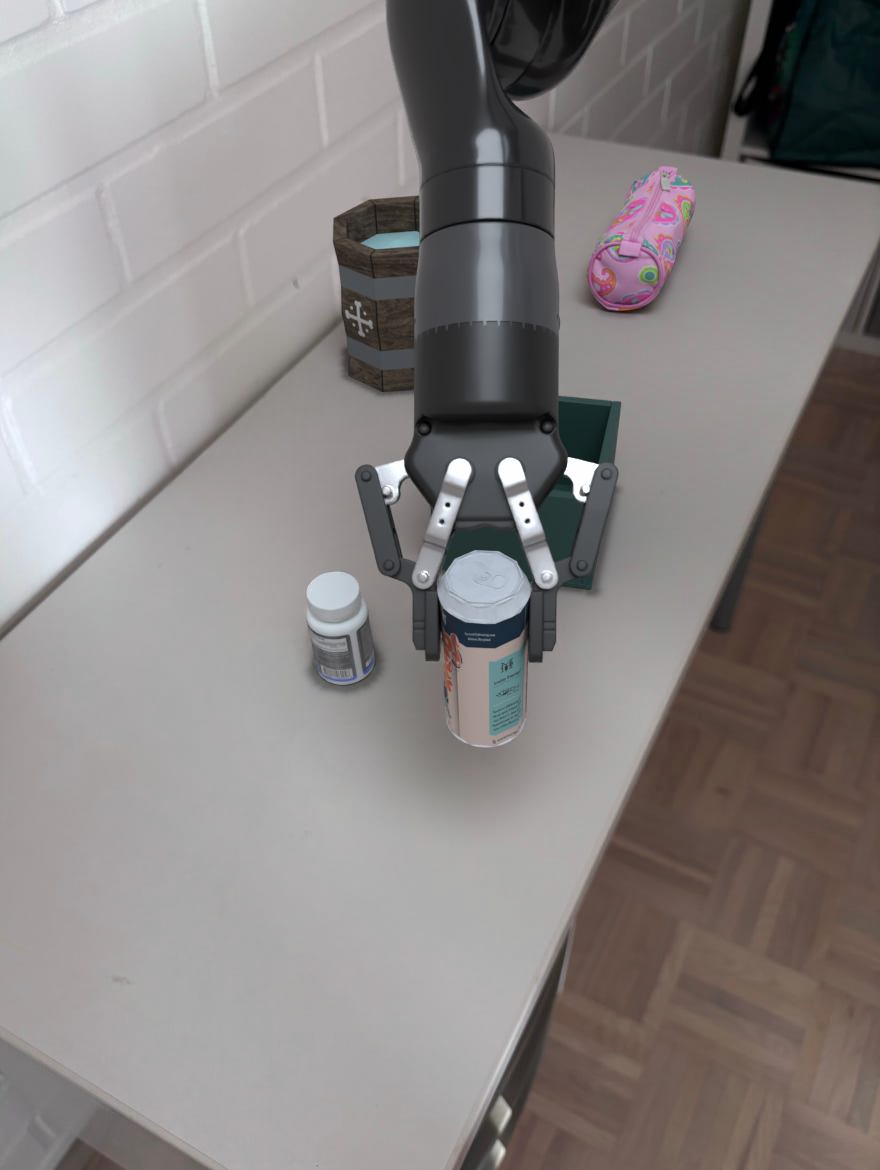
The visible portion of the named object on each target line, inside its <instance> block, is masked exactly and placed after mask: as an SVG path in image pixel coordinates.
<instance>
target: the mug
mask: <svg viewBox="0 0 880 1170" xmlns="http://www.w3.org/2000/svg"><path fill="white" fill-rule="evenodd" d="M419 196H420V195H419V194H418V195H407V196H394V197H393V196H392V197H383V198H369V199H367V200H365V201H363V202H361V203H359V204H358V205H355V206H354V207H352V208H350V209H348V210H346V211H344V212H341V213H339V214H338V215H336V216H335V217H333V219H332V222H333V223H332V244H333V248H334V252H335V256H336V262H337V265H338V266H337V267H338V274H339V282H340V302H341V304H340V306H341V316H342V320H343V327H344V331H345V335H346V336H345V337H346V343H347V352H348V376H349V377H350V378H353V379H355V380H357V381H359V382H361V383H363V384H365V385H367V386H370V387H372V388H373V389H375V390H377V391H380V392H382V393H388V392H400V391H401V392H403V391H414V293H415V282H416V274H417V268H418V259H419Z"/></svg>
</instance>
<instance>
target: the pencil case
mask: <svg viewBox="0 0 880 1170" xmlns="http://www.w3.org/2000/svg"><path fill="white" fill-rule="evenodd" d="M678 170H679V168H678V167H675V166H668V165H667V166H666V165H660V166H659V168H657V170H654V171H652V172H649V173H647V174H645V175H644V176H642V177H640V178H638V180H634V181H633V183H632V184H631V186H630V188H629V190H628V191H627V193H626V195H625V198H624V202H623V205H622V206H621V207H620V209H619V210H618V212H617V214H616V216H615V218H614V220H613V222H612V223H611V224H610V225H609V227H608V228H607V229H606V230H605V231H604V232H603V234H602V236H601V237H600V239H598V241H597V243H596V245H595V249H594V250H593V252H592V254H591V255H590V258H589V261H588V264H587V268H586V280H587V285H588V288H589V290H590V292H591V294H592V296H593V297H594V298H595V299H596V301H597V302H598V303H599V304H601V306H602V307H604V308H605V309H607V310H610V311H617V312H622V311H631V310H636V309H640V308H643V307H645V306H646V305H648V304H649V303H651V302H652V301H654V300H655V299H656V298H657V297H658V295H659V294H660V292H661V291H662V289H663V286H664V284H665V282H666V280H667V279H668V278H669V276H670V274H671V273H672V271H673V268H674V267H675V262H676V257H677V255H678V252H679V250H680V248H681V246H682V243H683V240H684V236H685V233H686V231H687V229H688V227H689V226H690V224H691V221H692V219H693V217H694V213H695V208H696V205H697V204H696V202H697V196H696V191H695V188H694V186H693V185H692V183H690V181H688V180H687V178H684V177H683V176H682V175H680V174H679V173H678V174H677V172H678Z"/></svg>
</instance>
